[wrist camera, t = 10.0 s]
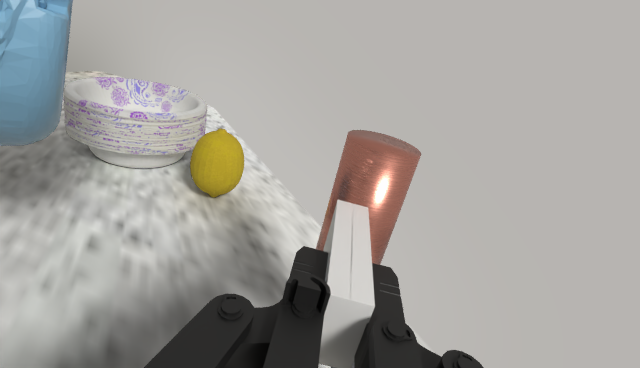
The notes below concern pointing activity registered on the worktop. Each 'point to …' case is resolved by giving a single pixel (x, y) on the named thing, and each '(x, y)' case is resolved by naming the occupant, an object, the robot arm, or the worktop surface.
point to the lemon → (217, 162)
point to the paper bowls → (133, 120)
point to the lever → (373, 184)
